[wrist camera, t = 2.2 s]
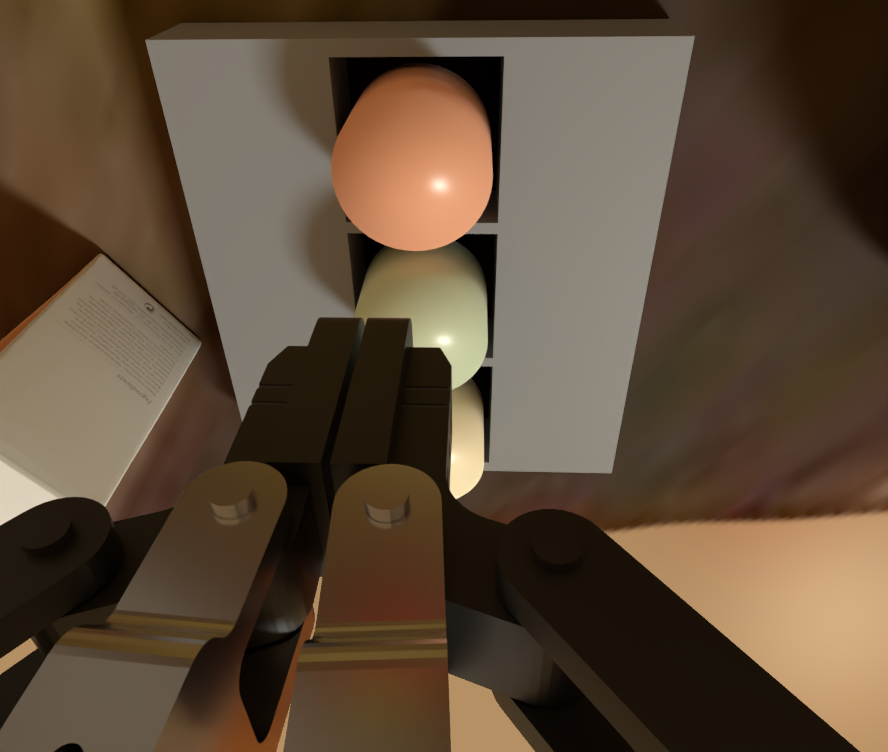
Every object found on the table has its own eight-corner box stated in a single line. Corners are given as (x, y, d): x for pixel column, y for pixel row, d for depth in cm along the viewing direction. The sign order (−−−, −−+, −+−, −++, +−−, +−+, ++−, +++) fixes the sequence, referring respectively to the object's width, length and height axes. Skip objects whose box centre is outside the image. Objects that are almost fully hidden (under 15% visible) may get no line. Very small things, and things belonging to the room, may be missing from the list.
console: (181, 22, 22) (145, 40, 20) (670, 18, 21) (694, 36, 19) (270, 422, 32) (253, 466, 30) (601, 428, 32) (611, 473, 29)
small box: (104, 247, 27) (-65, 412, 19) (207, 341, 30) (100, 523, 21) (-4, 340, 30) (-191, 518, 22) (98, 418, 33) (-34, 604, 24)
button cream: (371, 361, 27) (359, 415, 24) (484, 362, 27) (485, 418, 24) (379, 444, 30) (369, 502, 27) (482, 446, 30) (482, 505, 27)
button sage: (359, 232, 24) (343, 279, 21) (488, 233, 24) (489, 280, 21) (370, 340, 27) (356, 394, 24) (485, 341, 26) (486, 396, 24)
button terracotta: (343, 63, 20) (321, 91, 18) (493, 62, 20) (495, 91, 17) (357, 205, 23) (340, 250, 20) (489, 206, 23) (490, 251, 20)
